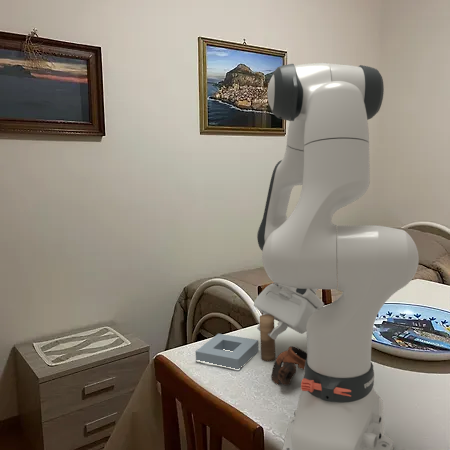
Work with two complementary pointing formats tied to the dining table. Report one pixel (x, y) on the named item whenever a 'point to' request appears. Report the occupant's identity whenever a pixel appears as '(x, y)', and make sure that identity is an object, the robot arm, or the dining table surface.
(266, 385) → the dining table surface
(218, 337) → the socket block
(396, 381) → the dining table surface
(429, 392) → the dining table surface
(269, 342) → the peg
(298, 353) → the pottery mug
